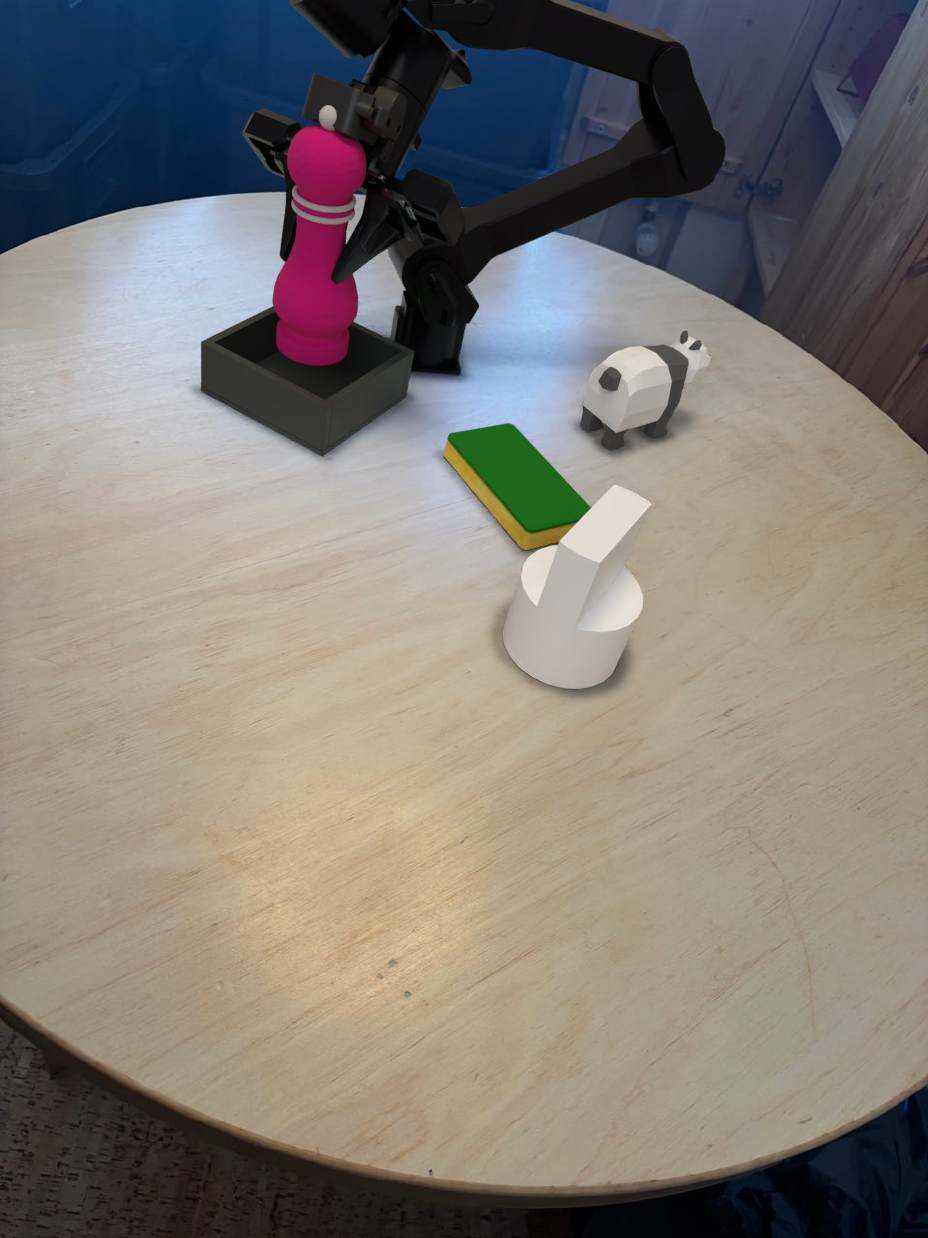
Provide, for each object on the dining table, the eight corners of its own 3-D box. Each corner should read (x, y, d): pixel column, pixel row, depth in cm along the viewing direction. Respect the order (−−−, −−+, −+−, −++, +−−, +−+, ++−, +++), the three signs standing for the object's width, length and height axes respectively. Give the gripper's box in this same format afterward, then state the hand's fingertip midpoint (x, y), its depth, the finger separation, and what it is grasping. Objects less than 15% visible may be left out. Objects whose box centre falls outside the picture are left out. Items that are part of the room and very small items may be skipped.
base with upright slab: (586, 709, 68) (639, 587, 59) (480, 646, 70) (517, 521, 62) (636, 640, 74) (691, 522, 65) (537, 585, 76) (578, 463, 68)
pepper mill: (341, 377, 81) (367, 132, 67) (259, 356, 81) (268, 106, 67) (361, 338, 86) (390, 103, 72) (284, 318, 86) (298, 78, 72)
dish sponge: (506, 442, 90) (512, 421, 88) (589, 535, 82) (598, 513, 80) (441, 454, 86) (446, 432, 84) (522, 552, 79) (529, 529, 77)
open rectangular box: (294, 340, 95) (297, 293, 92) (406, 396, 92) (414, 350, 88) (200, 391, 86) (200, 341, 82) (322, 456, 83) (327, 407, 79)
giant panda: (603, 457, 91) (634, 369, 84) (566, 425, 94) (594, 338, 87) (703, 426, 99) (739, 343, 92) (667, 397, 101) (699, 315, 95)
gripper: (260, -8, 72) (167, 177, 72) (477, 71, 68) (378, 267, 68) (311, 86, 82) (230, 247, 83) (500, 159, 79) (415, 328, 79)
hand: (308, 270), depth 78 cm, fingers closed on pepper mill, 5 cm apart
